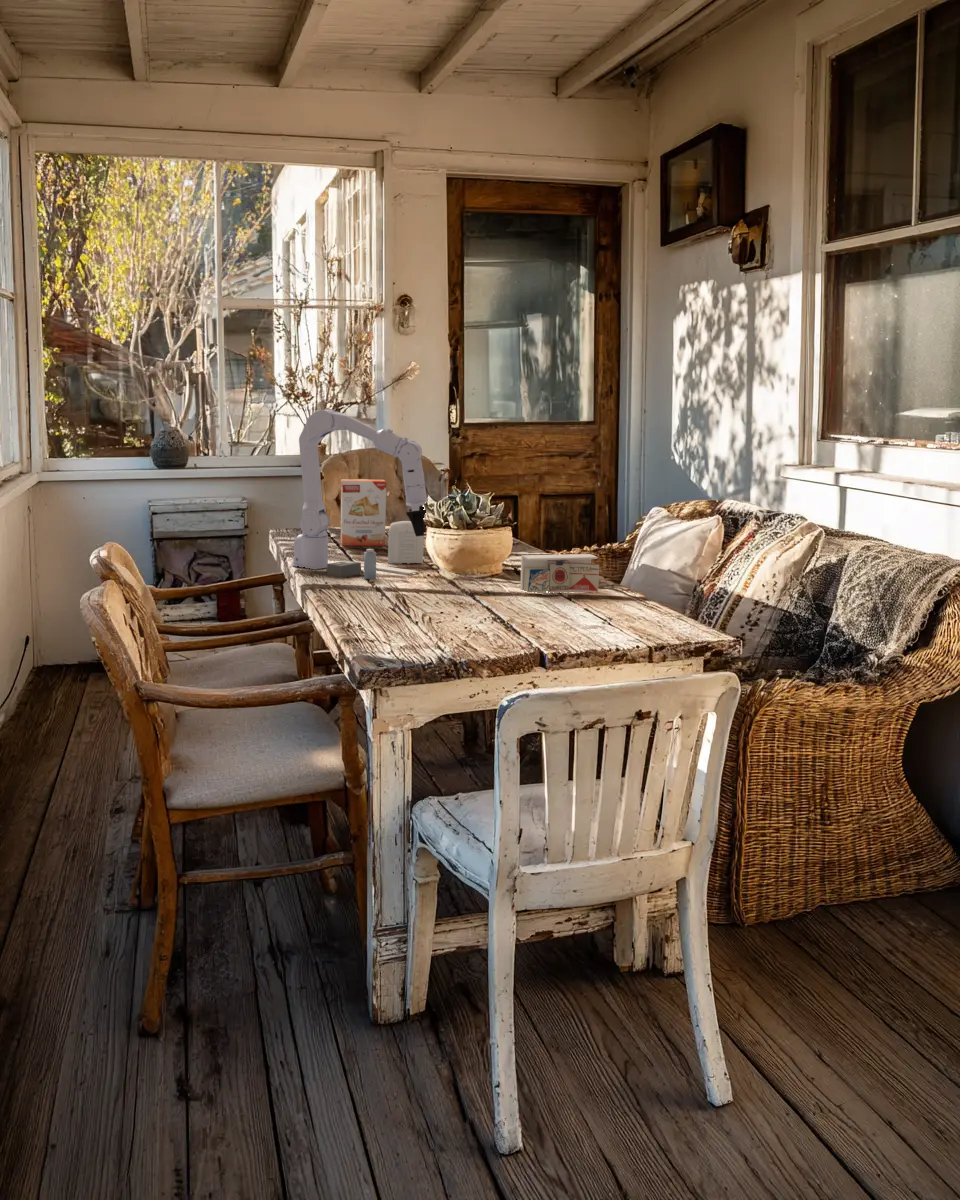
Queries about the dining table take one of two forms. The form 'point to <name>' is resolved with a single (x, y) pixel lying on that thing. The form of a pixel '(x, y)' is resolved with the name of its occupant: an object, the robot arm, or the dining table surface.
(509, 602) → the dining table surface
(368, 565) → the peg
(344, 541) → the cracker box
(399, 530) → the light grey rounded block
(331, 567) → the box
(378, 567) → the batten
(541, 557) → the cigarette display
